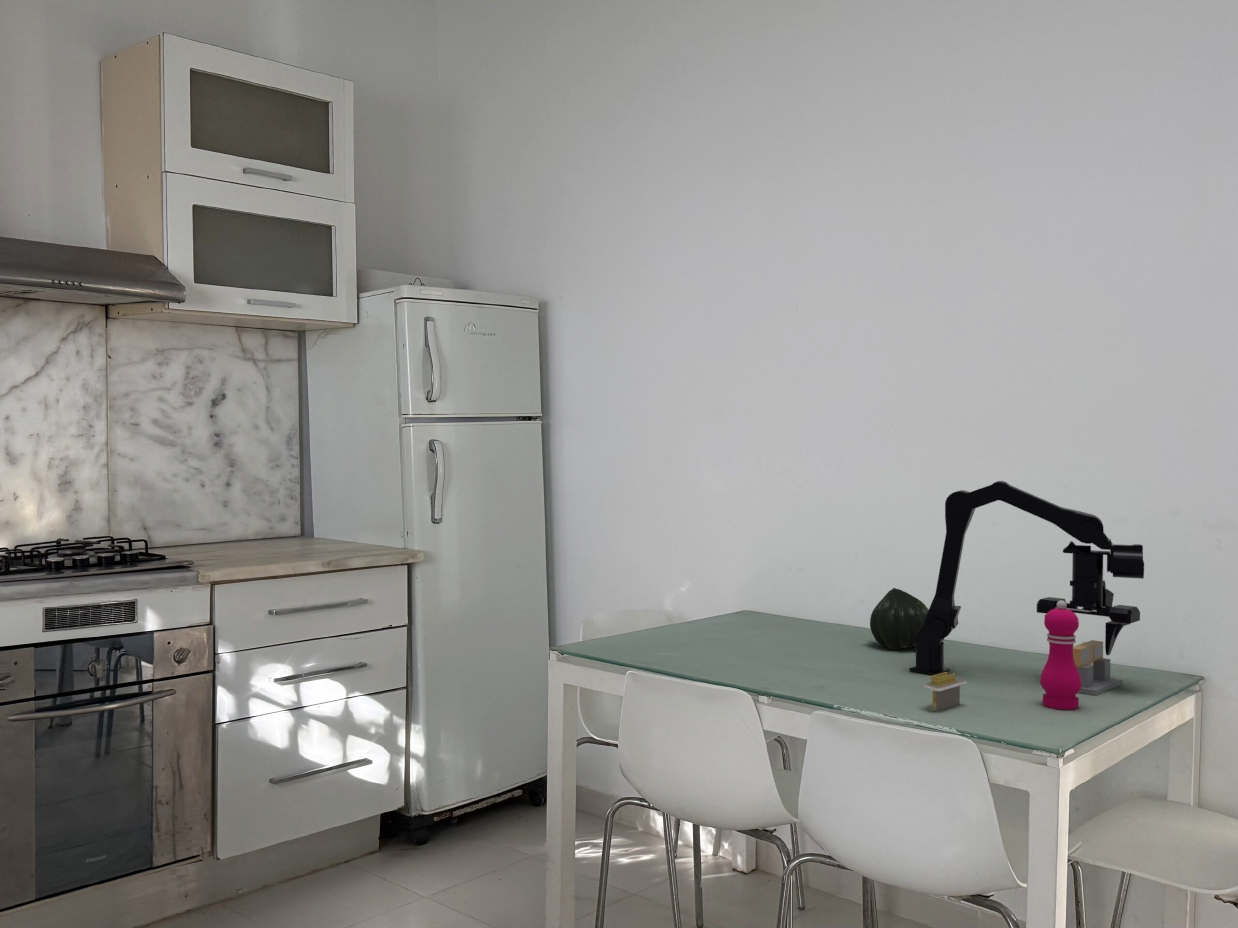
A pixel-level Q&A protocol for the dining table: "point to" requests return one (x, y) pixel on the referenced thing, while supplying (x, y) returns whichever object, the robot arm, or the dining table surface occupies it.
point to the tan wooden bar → (1087, 652)
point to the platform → (945, 690)
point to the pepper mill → (1061, 660)
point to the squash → (897, 619)
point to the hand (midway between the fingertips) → (1086, 651)
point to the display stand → (1097, 677)
